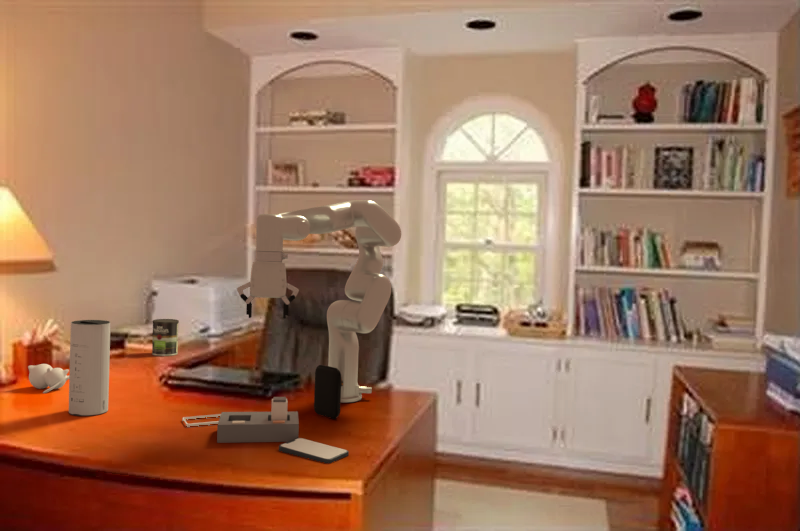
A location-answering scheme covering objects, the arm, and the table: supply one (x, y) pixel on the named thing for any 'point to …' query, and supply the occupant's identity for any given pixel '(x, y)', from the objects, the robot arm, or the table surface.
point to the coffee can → (165, 337)
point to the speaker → (89, 367)
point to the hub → (256, 427)
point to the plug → (279, 408)
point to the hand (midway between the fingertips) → (267, 317)
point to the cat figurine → (47, 377)
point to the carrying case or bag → (327, 391)
